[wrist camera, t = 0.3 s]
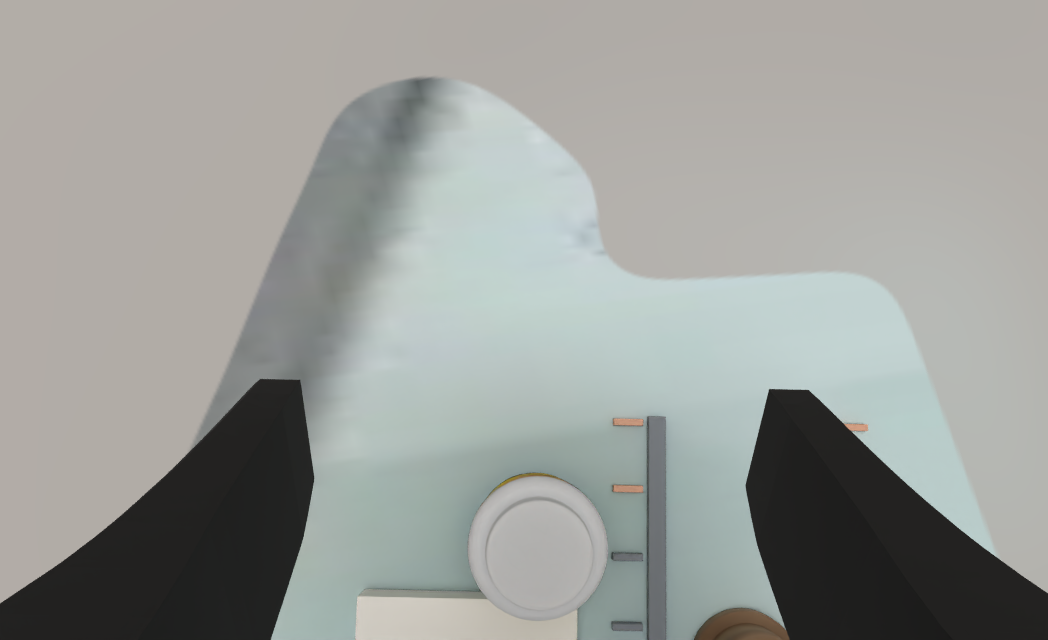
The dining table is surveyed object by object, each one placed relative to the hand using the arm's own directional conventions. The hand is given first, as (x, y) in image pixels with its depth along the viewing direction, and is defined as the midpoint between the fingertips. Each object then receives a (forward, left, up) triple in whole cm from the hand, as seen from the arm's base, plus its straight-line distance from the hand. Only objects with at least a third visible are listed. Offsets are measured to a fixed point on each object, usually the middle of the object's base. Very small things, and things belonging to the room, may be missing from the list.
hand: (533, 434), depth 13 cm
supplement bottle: (-4, -1, -29) cm, 29 cm away
